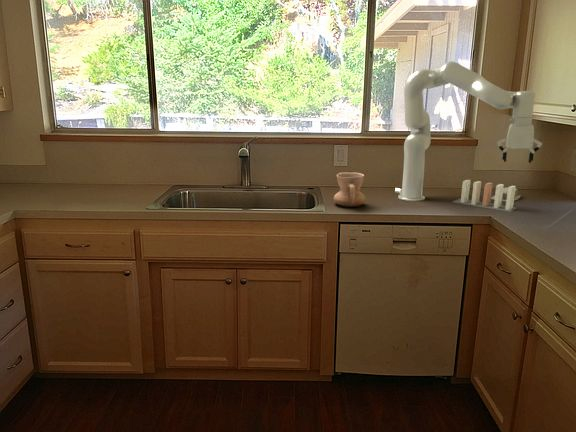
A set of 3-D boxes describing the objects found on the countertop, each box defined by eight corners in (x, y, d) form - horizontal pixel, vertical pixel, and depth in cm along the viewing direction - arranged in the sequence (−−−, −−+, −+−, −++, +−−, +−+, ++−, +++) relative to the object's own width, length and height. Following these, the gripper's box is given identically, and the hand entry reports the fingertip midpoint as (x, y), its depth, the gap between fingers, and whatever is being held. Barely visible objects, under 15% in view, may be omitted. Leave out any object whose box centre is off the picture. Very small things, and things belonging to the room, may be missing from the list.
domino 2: (471, 203, 213) (473, 182, 210) (475, 202, 216) (477, 181, 213) (474, 204, 212) (477, 183, 209) (478, 202, 215) (481, 181, 212)
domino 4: (493, 207, 206) (496, 185, 203) (497, 205, 210) (500, 184, 207) (497, 208, 205) (500, 186, 202) (501, 206, 209) (504, 184, 206)
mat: (451, 203, 216) (451, 201, 216) (460, 199, 223) (460, 198, 223) (509, 213, 199) (510, 211, 199) (517, 208, 206) (517, 207, 206)
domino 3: (482, 205, 209) (484, 184, 207) (486, 203, 213) (489, 182, 210) (485, 206, 208) (488, 184, 206) (490, 204, 212) (492, 183, 209)
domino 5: (505, 209, 203) (508, 187, 200) (509, 207, 206) (512, 185, 204) (509, 210, 202) (512, 187, 199) (512, 208, 205) (515, 186, 203)
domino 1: (460, 202, 216) (462, 181, 213) (464, 200, 219) (467, 179, 217) (464, 202, 215) (466, 181, 212) (468, 200, 218) (470, 180, 216)
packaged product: (500, 185, 235) (522, 188, 229) (499, 195, 236) (520, 197, 231) (490, 191, 222) (513, 194, 216) (489, 201, 223) (511, 204, 217)
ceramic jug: (332, 200, 220) (333, 170, 216) (363, 200, 219) (364, 171, 215) (334, 210, 203) (335, 178, 199) (367, 210, 202) (368, 179, 198)
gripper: (499, 121, 194) (495, 162, 198) (546, 122, 187) (540, 164, 192) (498, 120, 201) (495, 160, 205) (543, 121, 194) (538, 161, 198)
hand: (517, 162), depth 198 cm, fingers open, 9 cm apart
